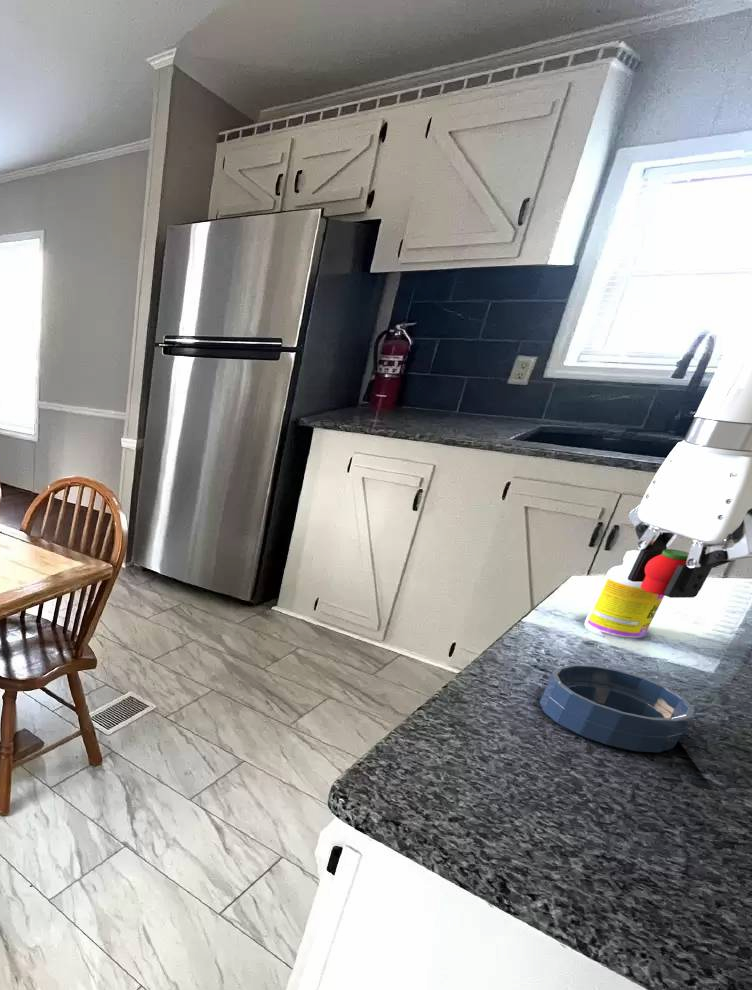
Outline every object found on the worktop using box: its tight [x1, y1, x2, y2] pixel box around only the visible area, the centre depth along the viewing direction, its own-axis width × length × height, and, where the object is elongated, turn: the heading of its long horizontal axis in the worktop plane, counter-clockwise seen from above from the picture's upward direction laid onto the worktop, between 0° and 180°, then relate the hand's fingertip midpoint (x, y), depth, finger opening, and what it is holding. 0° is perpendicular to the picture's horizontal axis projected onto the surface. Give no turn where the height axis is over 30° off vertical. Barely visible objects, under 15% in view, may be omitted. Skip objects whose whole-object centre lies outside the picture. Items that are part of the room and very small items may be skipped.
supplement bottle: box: [584, 549, 665, 639], centre depth 95 cm, size 7×7×13 cm
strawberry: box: [641, 548, 689, 597], centre depth 76 cm, size 4×4×5 cm
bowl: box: [539, 663, 695, 753], centre depth 76 cm, size 12×12×5 cm
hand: (660, 587), depth 77 cm, fingers closed on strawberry, 3 cm apart
